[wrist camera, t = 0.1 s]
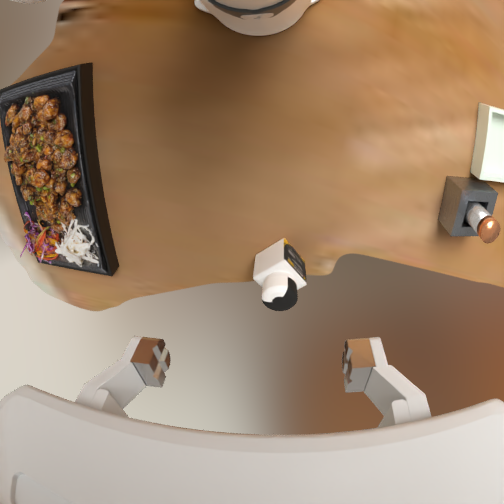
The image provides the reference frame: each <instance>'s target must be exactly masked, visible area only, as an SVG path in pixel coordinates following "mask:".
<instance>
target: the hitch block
mask: <svg viewBox="0 0 504 504" xmlns="http://www.w3.org/2000/svg"><path fill="white" fill-rule="evenodd" d="M497 195H498V193H497V192H496V191H495V190H494V189H493V188H492V187H490V186H489V185H488V184H487V183H486V182H484V181H483V180H480V179H473V178H463V177H452V176H447V178H446V184H445V189H444V194H443V199H442V204H441V208H440V213H439V217H438V220H439V221H440V223H441V224H442V225H443V227H444V228H445V229H446V231H447V232H448V233H449V235H450V236H479V235H478V234H477V233H476V232H475V230H474V229H473V228H472V227H471V226H470V225H469V223H468V222H467V221H466V220H465V219H464V216H465V212H466V208H467V204H468V201H478V202H479V203H480V204H481V205H482V206H483V207H484V208H485V209H486V210H487V211H488V212H489V213H490V214H491V215H492V214H493V210H494V206H495V203H496V199H497Z"/></svg>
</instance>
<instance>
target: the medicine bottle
mask: <svg viewBox="0 0 504 504" xmlns="http://www.w3.org/2000/svg"><path fill="white" fill-rule="evenodd" d="M253 279H254V280H255V281H256V282H257V283H258V284H259V285H260V286H261V287H262V288H263V289H262V301H263V303H264V304H265V306H267V307H268V308H270V309H272V310H275V311H284V310H288V309H290V308H291V307H293V306H294V305H295V304H296V302H297V290H298V289H300V288H302V287H303V286H305V285H306V284H307V283H306V271H305V261H304V260H303V259H302V257H301V256H300V255H299V254H298V253H297V252H296V250H295V249H294V248H293V247H292V246H291V245H290V244H289V242H288V241H287V240H286V239H285V238H283V239H281V240H279V241H278V242H276V243H274V244H273V245H271V246H270V247H268V248H266V249H265V250H263V251H261V252H260V253H258V254H256V257H255V265H254V273H253Z"/></svg>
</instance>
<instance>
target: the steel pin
mask: <svg viewBox="0 0 504 504" xmlns="http://www.w3.org/2000/svg"><path fill="white" fill-rule="evenodd" d="M464 219H465V220H466V221H467V222H468V223H469V225H470V226H471V227H472V228H473V229H474V230H475V232H476V233H477V234H478V235H479V237H480V238H481V239H482V240H483V242H484V243H491V242H493V241H494V240H495V239H496V238H497V237H498V235H499V233H500V224H499V223H498V222H497V221H496V220H495V219H494V218H493V217H492V215H491V214H490V213H489V212H488V211H487V210H486V209H485V208H484V207H483V206H482V205H481V204H480V203H479V202H478V201H468V204H467V208H466V212H465V216H464Z"/></svg>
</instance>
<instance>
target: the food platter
mask: <svg viewBox="0 0 504 504" xmlns="http://www.w3.org/2000/svg"><path fill="white" fill-rule="evenodd" d="M58 97H59V98H58ZM55 113H56V114H55ZM0 121H1V128H2V135H3V141H4V147H5V154H4V160H5V162H8V167H9V172H10V176H11V180H12V184H13V188H14V192H15V196H16V199H17V203H18V206H19V209H20V213H21V216H22V219H23V222H24V225H25V226H24V232H25V233H27V234H26V236H25V238H26V245H25V247H24V249H23V251H24V250H25V248H26V247H27V249H28V252H29V253H30V254H31V255H32V252H33V253H34V254H35V256H36V258H37V261H38V262H39V263H44V264H49V265H54V266H59V267H64V268H69V269H75V270H80V271H86V272H91V273H97V274H103V275H108V276H113V275H114V273H115V272H116V270H117V268H118V267H119V263H118V259H117V255H116V251H115V247H114V243H113V238H112V234H111V229H110V224H109V219H108V214H107V209H106V203H105V198H104V192H103V186H102V179H101V173H100V165H99V158H98V149H97V140H96V130H95V118H94V102H93V66H92V63H86V64H80V65H76V66H71V67H68V68H64V69H60V70H56V71H53V72H49V73H46V74H43V75H39V76H36V77H33V78H30V79H27V80H24V81H22V82H19V83H16V84H13V85H11V86H8V87H6V88H3V89H1V90H0ZM39 157H40V158H39ZM35 165H36V166H35ZM85 185H86V186H85ZM58 208H59V209H58ZM64 222H65V223H64ZM25 228H26V229H25ZM96 248H97V249H96ZM22 253H23V252H22ZM21 255H22V254H21ZM21 255H20V257H21ZM32 256H33V255H32Z"/></svg>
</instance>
